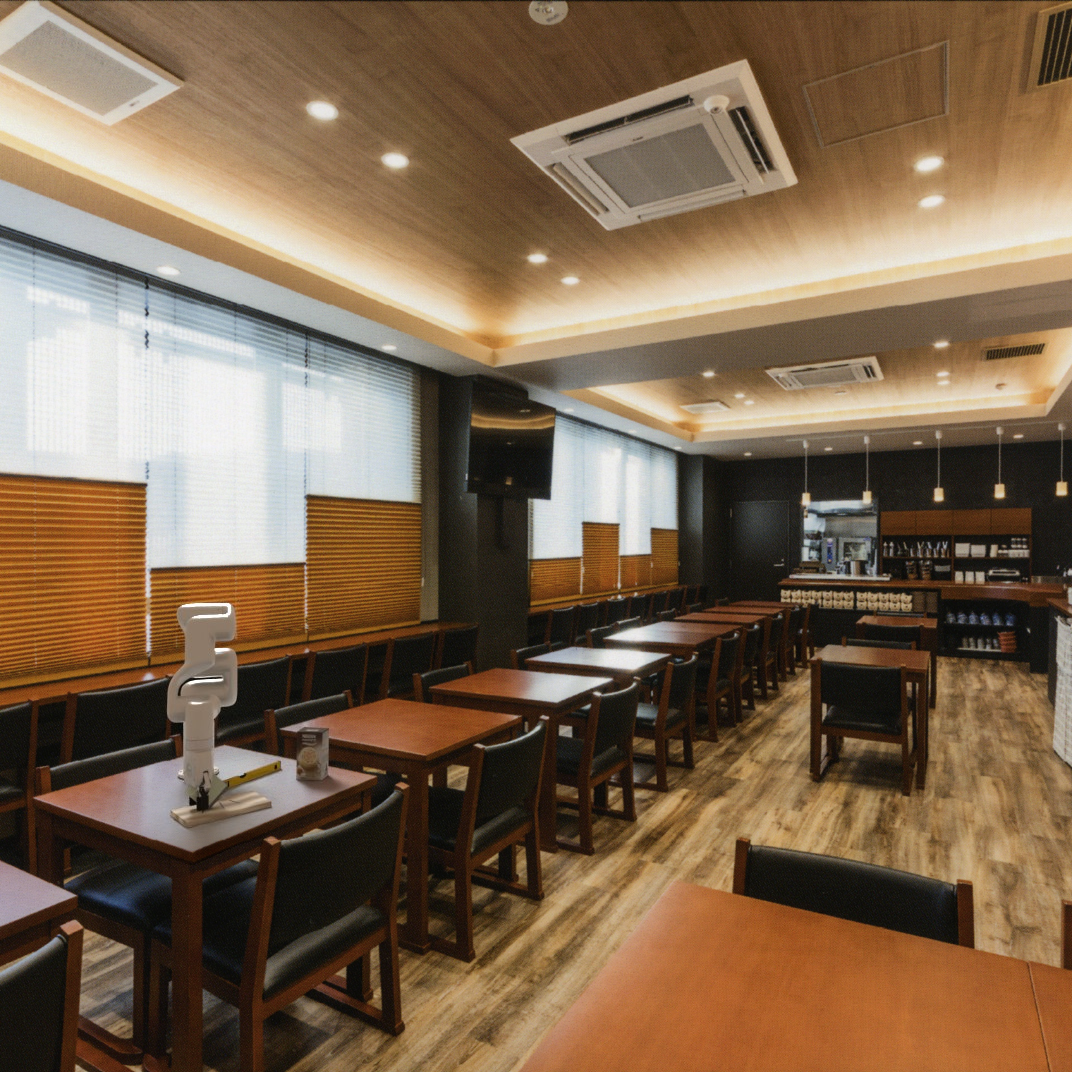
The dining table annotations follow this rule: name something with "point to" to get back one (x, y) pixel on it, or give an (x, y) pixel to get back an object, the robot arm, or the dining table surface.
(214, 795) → the sanding block
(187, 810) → the board
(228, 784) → the spirit level
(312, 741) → the coffee box
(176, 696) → the robot arm
